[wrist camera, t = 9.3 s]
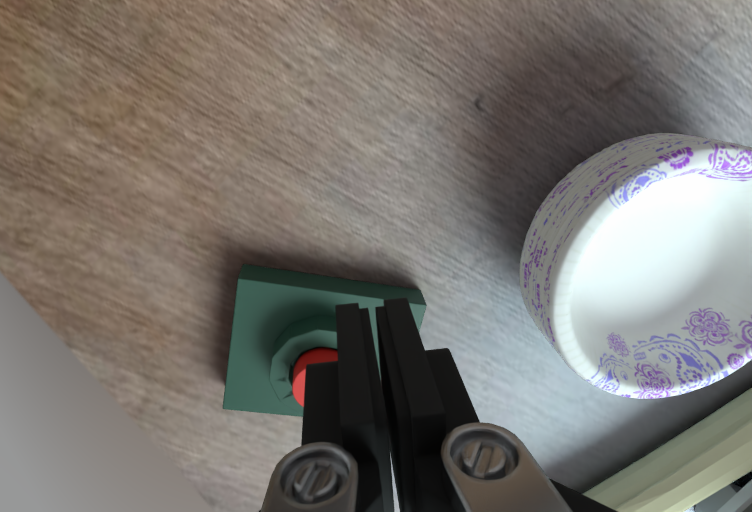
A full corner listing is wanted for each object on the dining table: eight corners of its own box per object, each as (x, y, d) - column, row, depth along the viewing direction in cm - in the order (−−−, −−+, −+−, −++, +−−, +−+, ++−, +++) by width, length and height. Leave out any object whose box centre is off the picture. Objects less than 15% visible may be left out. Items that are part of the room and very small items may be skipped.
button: (290, 390, 31) (288, 409, 30) (298, 343, 30) (296, 360, 29) (344, 396, 32) (346, 415, 30) (355, 350, 31) (357, 367, 29)
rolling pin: (506, 561, 46) (526, 618, 41) (474, 531, 44) (492, 588, 39) (829, 371, 41) (893, 412, 36) (809, 327, 38) (875, 365, 34)
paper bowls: (677, 73, 30) (793, 81, 22) (741, 261, 35) (849, 316, 28) (461, 209, 32) (503, 257, 24) (554, 366, 37) (611, 443, 30)
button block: (228, 388, 35) (217, 428, 32) (243, 263, 32) (232, 291, 28) (389, 405, 37) (396, 444, 34) (420, 289, 34) (432, 319, 30)
